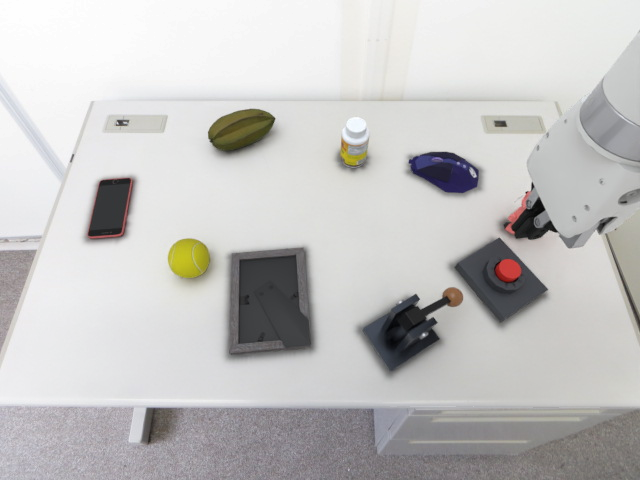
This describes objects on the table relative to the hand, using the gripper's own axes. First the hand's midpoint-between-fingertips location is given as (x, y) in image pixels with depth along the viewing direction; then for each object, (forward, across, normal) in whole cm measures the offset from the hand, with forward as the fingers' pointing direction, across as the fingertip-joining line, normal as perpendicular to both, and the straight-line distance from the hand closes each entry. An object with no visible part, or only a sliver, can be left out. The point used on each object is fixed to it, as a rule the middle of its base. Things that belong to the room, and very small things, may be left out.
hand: (525, 231), depth 45 cm
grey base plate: (+24, +2, -8) cm, 26 cm away
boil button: (+21, +2, -8) cm, 22 cm away
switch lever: (+18, -4, +8) cm, 20 cm away
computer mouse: (+25, +27, -5) cm, 37 cm away
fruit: (+25, +42, +37) cm, 61 cm away
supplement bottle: (+25, +34, +13) cm, 44 cm away
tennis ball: (+25, +13, +47) cm, 54 cm away
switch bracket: (+24, -5, +12) cm, 28 cm away
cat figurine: (+25, +12, -15) cm, 31 cm away
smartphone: (+24, +28, +64) cm, 74 cm away
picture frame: (+25, +4, +34) cm, 42 cm away
